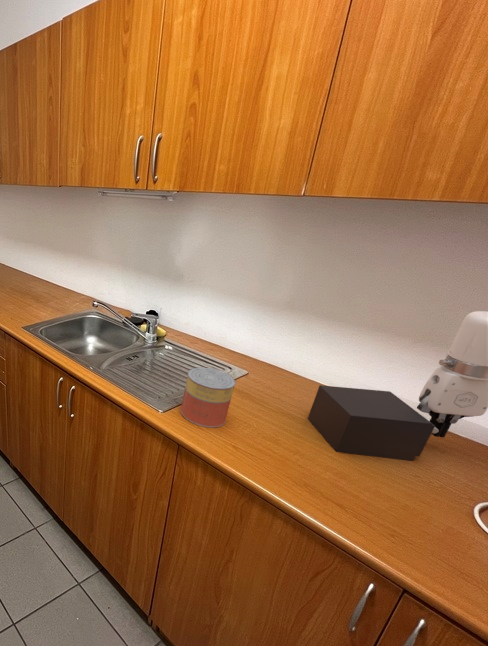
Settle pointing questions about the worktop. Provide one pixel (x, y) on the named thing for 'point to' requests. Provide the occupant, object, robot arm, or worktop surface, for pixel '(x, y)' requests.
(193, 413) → the canned food
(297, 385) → the worktop surface
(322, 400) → the dark brown box
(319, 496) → the worktop surface
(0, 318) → the worktop surface
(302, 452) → the worktop surface
